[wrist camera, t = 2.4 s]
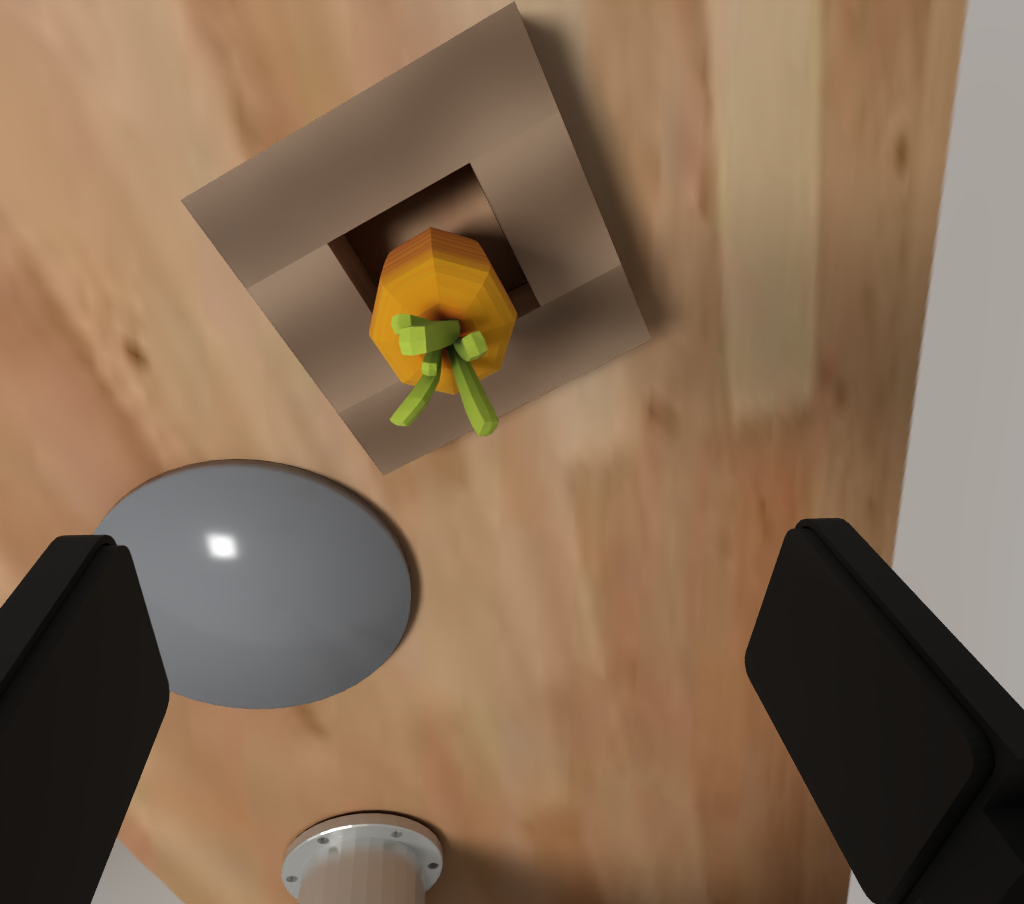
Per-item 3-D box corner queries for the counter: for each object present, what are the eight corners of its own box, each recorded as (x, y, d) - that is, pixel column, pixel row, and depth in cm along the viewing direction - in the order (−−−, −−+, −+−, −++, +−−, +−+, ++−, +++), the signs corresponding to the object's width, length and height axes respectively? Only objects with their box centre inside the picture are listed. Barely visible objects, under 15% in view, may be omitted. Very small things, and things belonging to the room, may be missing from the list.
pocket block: (627, 312, 33) (651, 339, 29) (386, 435, 35) (383, 475, 31) (501, 11, 26) (514, 1, 23) (210, 185, 28) (180, 200, 24)
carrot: (495, 299, 32) (547, 450, 19) (392, 312, 31) (374, 475, 19) (483, 190, 29) (534, 279, 16) (371, 204, 29) (334, 304, 16)
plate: (463, 623, 42) (464, 634, 41) (229, 732, 44) (226, 745, 43) (293, 402, 33) (289, 411, 32) (11, 552, 35) (1, 564, 34)
